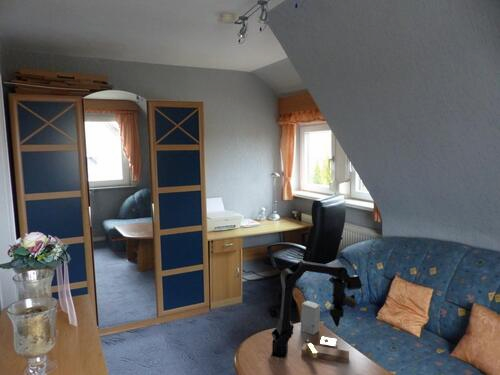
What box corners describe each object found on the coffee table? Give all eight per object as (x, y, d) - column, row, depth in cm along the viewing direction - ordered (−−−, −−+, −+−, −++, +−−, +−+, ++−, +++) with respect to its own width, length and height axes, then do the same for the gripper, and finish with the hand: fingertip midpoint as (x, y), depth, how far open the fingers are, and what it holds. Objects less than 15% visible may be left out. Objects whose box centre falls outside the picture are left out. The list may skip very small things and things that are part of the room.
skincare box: (300, 330, 194) (300, 303, 192) (306, 326, 199) (306, 299, 197) (314, 335, 189) (315, 307, 187) (320, 331, 194) (320, 303, 192)
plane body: (301, 355, 171) (301, 349, 171) (303, 349, 176) (303, 343, 176) (348, 364, 164) (348, 357, 164) (348, 357, 170) (349, 351, 169)
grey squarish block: (319, 349, 176) (320, 342, 175) (321, 342, 182) (322, 335, 181) (334, 351, 173) (335, 344, 173) (336, 344, 180) (336, 338, 179)
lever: (304, 345, 173) (304, 339, 173) (309, 344, 174) (309, 338, 174) (312, 358, 163) (312, 351, 163) (317, 357, 163) (318, 351, 163)
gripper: (355, 300, 164) (354, 333, 166) (357, 285, 182) (356, 315, 183) (330, 297, 168) (329, 330, 169) (334, 282, 185) (333, 312, 187)
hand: (338, 321), depth 177 cm, fingers open, 9 cm apart
